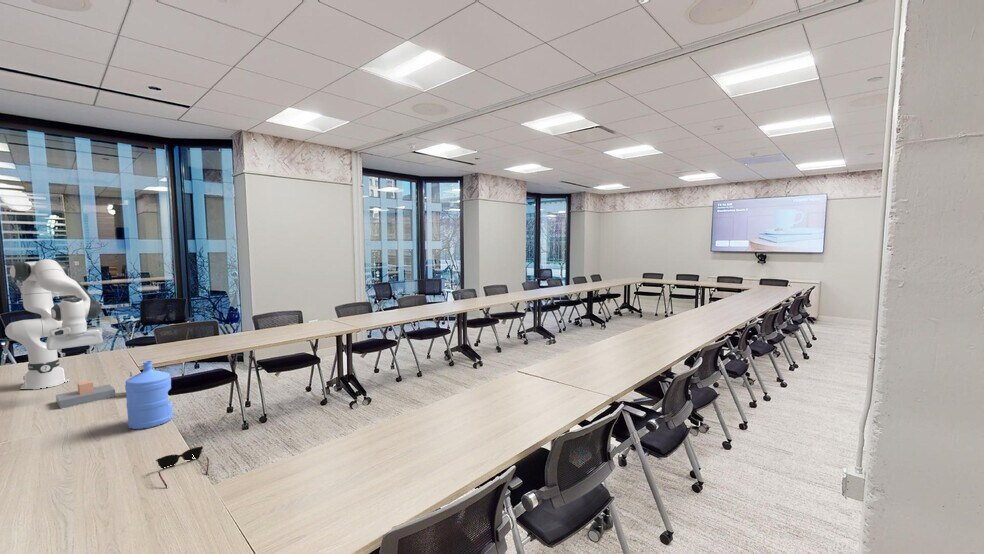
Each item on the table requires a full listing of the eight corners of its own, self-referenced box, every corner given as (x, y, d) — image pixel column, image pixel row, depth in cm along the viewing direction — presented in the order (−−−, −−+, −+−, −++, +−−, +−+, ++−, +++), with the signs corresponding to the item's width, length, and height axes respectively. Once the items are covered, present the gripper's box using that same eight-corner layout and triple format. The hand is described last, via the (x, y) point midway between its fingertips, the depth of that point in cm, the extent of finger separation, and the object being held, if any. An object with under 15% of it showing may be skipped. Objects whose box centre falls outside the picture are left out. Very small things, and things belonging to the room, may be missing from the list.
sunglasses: (203, 457, 151) (203, 445, 150) (212, 477, 139) (211, 464, 139) (156, 471, 141) (155, 458, 141) (161, 494, 130) (160, 480, 129)
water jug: (147, 431, 171) (143, 368, 169) (118, 428, 174) (114, 365, 172) (181, 416, 186) (178, 358, 184) (154, 413, 190) (151, 356, 188)
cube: (78, 392, 206) (77, 383, 206) (91, 389, 210) (90, 380, 210) (79, 394, 203) (79, 385, 203) (93, 391, 207) (92, 382, 207)
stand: (56, 402, 203) (55, 395, 202) (109, 391, 219) (109, 384, 218) (60, 408, 195) (59, 400, 195) (115, 396, 211) (114, 389, 211)
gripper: (101, 325, 216) (102, 349, 217) (44, 331, 199) (46, 357, 200) (103, 326, 212) (105, 352, 213) (46, 333, 195) (48, 360, 197)
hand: (76, 355), depth 207 cm, fingers open, 8 cm apart
